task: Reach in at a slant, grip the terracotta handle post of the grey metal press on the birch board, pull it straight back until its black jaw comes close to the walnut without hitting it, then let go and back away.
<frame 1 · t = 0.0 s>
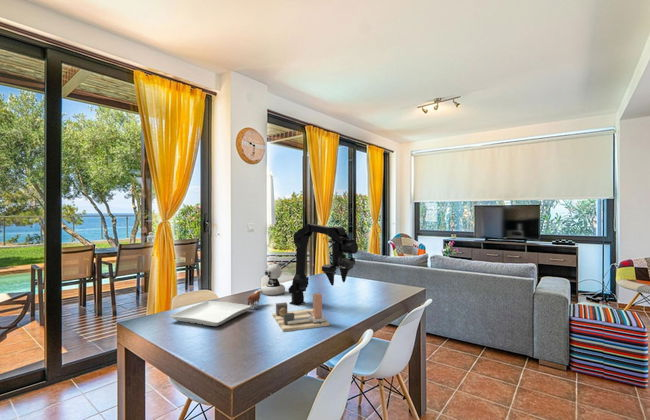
hand: (338, 283, 164), 15 cm above the table, tool pointing down, fingers open, 9 cm apart
press base: (317, 322, 150), on the table
decorative figurine: (273, 293, 205), on the table
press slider: (304, 308, 148), point 7 cm above the table, slide at 0.0 cm
bull figurine: (255, 306, 177), on the table
square plate: (212, 317, 160), on the table
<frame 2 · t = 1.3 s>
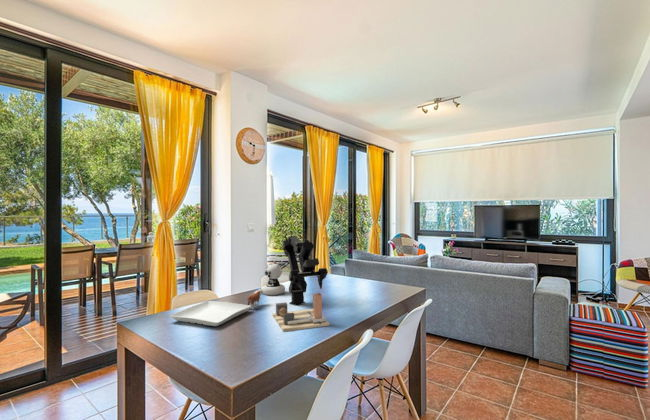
hand: (312, 289, 157), 14 cm above the table, tool tilted 45°, fingers open, 9 cm apart
nothing on the table moved.
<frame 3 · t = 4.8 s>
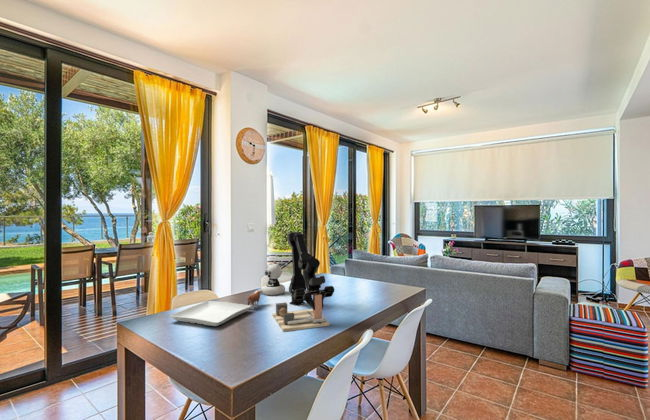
hand: (318, 309, 149), 7 cm above the table, tool tilted 45°, fingers closed on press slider, 3 cm apart
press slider: (304, 308, 148), point 7 cm above the table, slide at 0.0 cm, touching gripper
everything else where it was.
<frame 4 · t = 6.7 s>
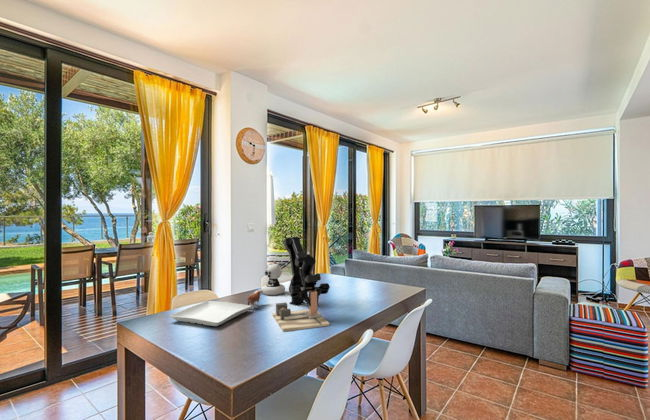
hand: (313, 305, 155), 7 cm above the table, tool tilted 45°, fingers closed on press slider, 3 cm apart
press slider: (300, 304, 154), point 7 cm above the table, slide at 6.4 cm, touching gripper
everything else where it was.
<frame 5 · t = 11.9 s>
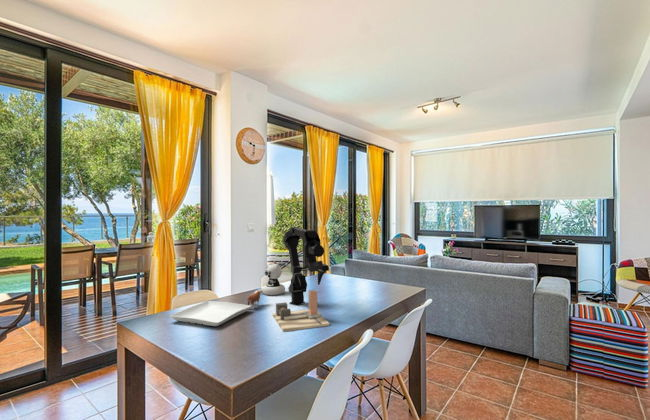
hand: (310, 285, 168), 13 cm above the table, tool pointing down, fingers open, 9 cm apart
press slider: (300, 304, 154), point 7 cm above the table, slide at 6.5 cm
everything else where it was.
at the end: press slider slide at 6.5 cm; the gripper is holding nothing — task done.
